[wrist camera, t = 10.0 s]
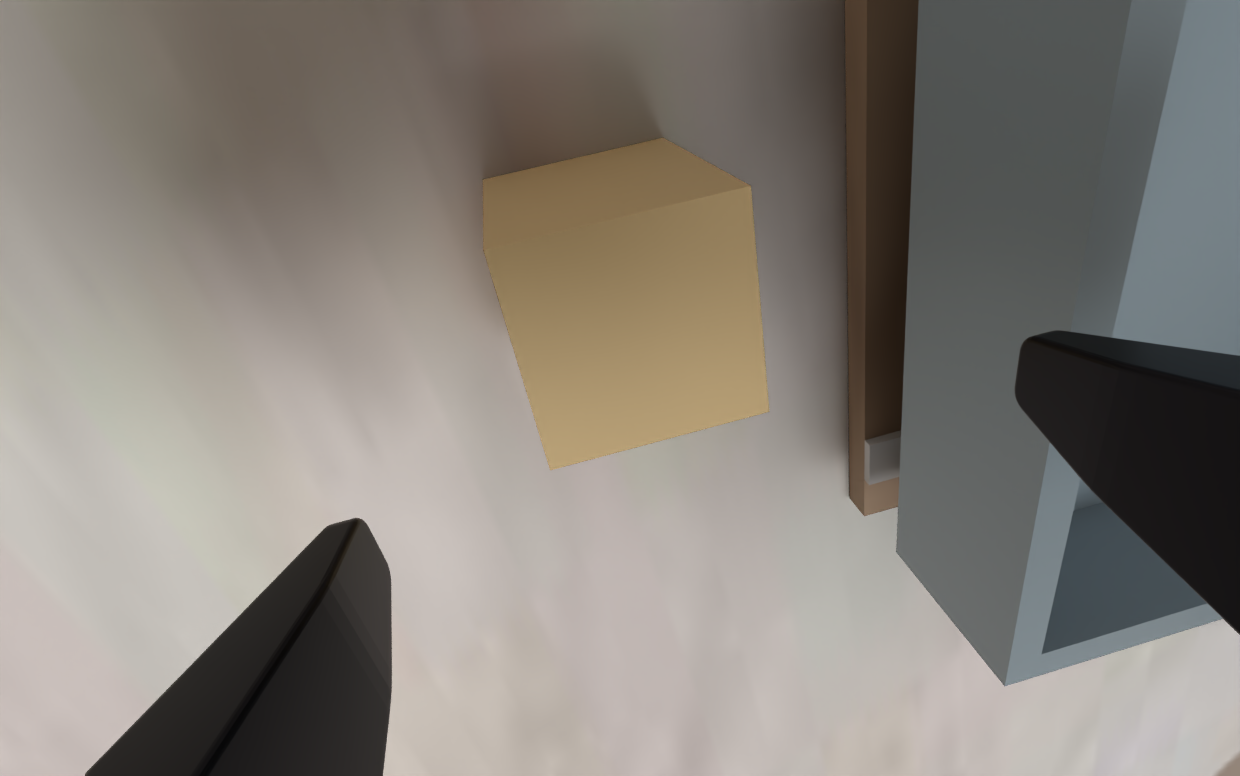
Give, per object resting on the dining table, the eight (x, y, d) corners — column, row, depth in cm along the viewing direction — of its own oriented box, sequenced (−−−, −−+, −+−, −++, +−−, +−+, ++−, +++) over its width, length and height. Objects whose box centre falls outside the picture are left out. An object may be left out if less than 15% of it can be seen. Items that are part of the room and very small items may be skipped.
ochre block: (662, 137, 16) (750, 185, 11) (686, 304, 18) (769, 411, 13) (482, 179, 15) (483, 250, 10) (530, 343, 18) (550, 470, 13)
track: (1766, -587, 13) (1887, -646, 12) (1351, 356, 24) (1393, 371, 23) (841, -424, 12) (879, -473, 11) (849, 498, 23) (868, 521, 22)
